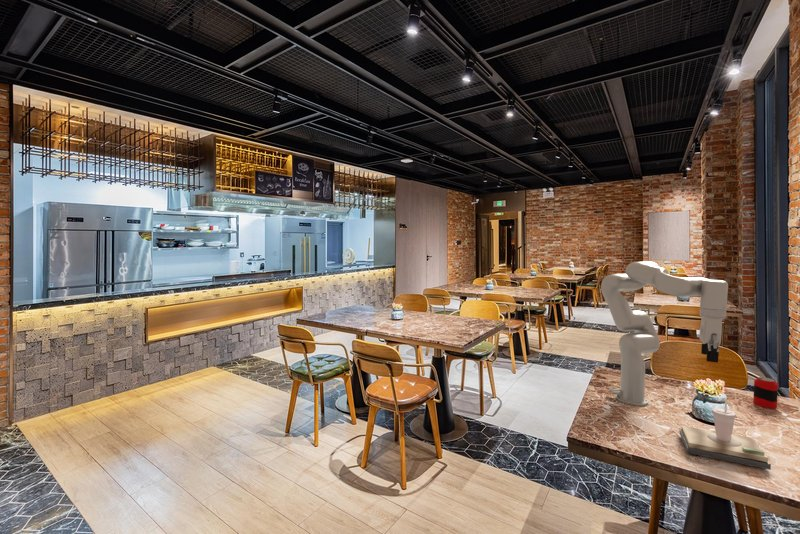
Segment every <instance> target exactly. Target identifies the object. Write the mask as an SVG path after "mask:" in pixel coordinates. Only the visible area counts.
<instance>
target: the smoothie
mask: <svg viewBox="0 0 800 534" xmlns="http://www.w3.org/2000/svg"><path fill="white" fill-rule="evenodd" d="M711 413H712V415H713V416H712V417H713V421H714V429H715V431H716V437H717V439H719V440H722V441H726V442H729V441H731V436H732V434H733V430H734V423H735V419H736V418H737V413H736V412H734V410H733V411H732V410H730V409H728V399H727V398H724V408H722V407H714V408H712V409H711Z"/></svg>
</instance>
